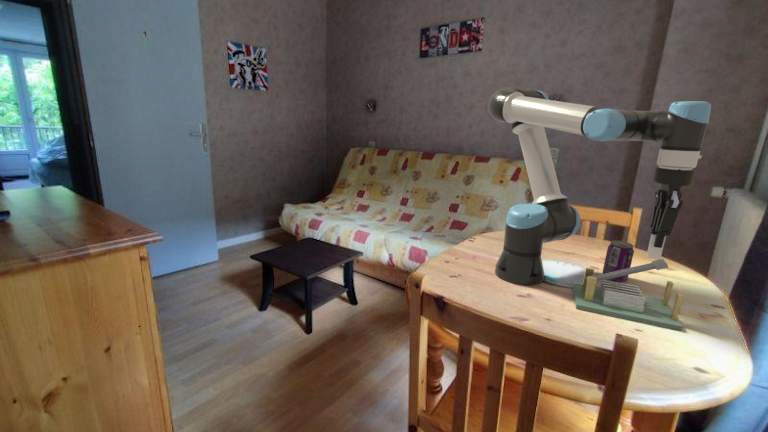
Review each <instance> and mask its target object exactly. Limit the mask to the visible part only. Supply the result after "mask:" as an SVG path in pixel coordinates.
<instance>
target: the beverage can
mask: <svg viewBox="0 0 768 432" xmlns="http://www.w3.org/2000/svg"><path fill="white" fill-rule="evenodd" d="M634 253H635V251H634V245H633V244H632V243H630V242H628V241H621V240H611V241H610V244H609V245H608V246H607V249H606V254H605V259H604V263H603V269H602V273H601V274H605V273H609V272H613V271H618V270H622V269H627V268H631V267H632V262H633V257H634ZM628 279H629V275H625V276H620V277H616V278H611V279H610V281H614V282H615V281H616V282H622V281H627V280H628Z"/></svg>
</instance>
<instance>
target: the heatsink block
mask: <svg viewBox="0 0 768 432" xmlns="http://www.w3.org/2000/svg"><path fill="white" fill-rule="evenodd" d="M598 287H599V294H600V297H601V301H602V304H603V305H605V306H609V307H614V308H619V309H624V310H629V311H634V312H639V313H643V310H644V302H645V298H644V296H645V295H644V294H643V291H641V289H640V286H638V285H634V284H627V283H622V282H618V281H616V282H615V281H613V280H602V281H600V284H599V286H598Z"/></svg>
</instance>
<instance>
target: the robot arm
mask: <svg viewBox="0 0 768 432" xmlns="http://www.w3.org/2000/svg"><path fill="white" fill-rule="evenodd" d="M487 108H488V109H487V110H488V113H489V115H490V116H491V118H492V119H493V120H494V121H496V122H499V123H505V124H510V126H511V131H512V133H513V134H515V135H518V139H519V140H518V141H519V143H520V144H519V145H520V147H521V148H520V149H521V152H522V155H523V160H524V164H525V168H526V173H527V176H528V181H529V185H530V189H531V193H532V197H533V200H532V202H531V203H519V204H515V205H513V206H511V207H510V208H509V210H508V211H507V217H506V219H505V229H504V230H505V231H504V238H503V239H504V240H503V248H502V252H501V253H500V255H499V257H498V259H497V261H496V264H495V268H494V273H495V274H496V276H498V277H499V278H500V279H502V280H505V281H506V282H509V283H512V284H517V285H521V286H522V285H524V286H528V285H529V286H534V285H539V284H541V283H543V281H544V278H545V270H544V266H543V265H544V264H543V260H542V253H543V251H542V250H543V247H544V246H543V245H544V244H547V243H551V242H555V241H564V240H566V239H568V238H571V237H573V236H574V235H575V234H576V233H577V232H578V231H579V229H580V227H581V215H580V213H579V211H578V210H577V208H575V207H574V206H573V205H571V204H570V203H569V199H568V197H567V196H566V195H564V194H563V193H561V189H560V185H559V180H558V177H557V176H558V175H557V173H556V169H555V166H554V161H553V157H552V153H551V150H550V149H551V148H550V146H549V141H548V138H547V134H546V129H552V130H556V131H561V132H565V133H571V134H575V135H578V136H584V137H587V138H588V139H590V140H592V141H597V142H602V143H605V142H616V141H619V142H622V141H623V142H626V141H627V142H631V141H633V142H656V143H658V142H661V144H660V145H661V146H660V148H659V152H658V155H657V156H658V157H657V160H656V166H657V167H656V168H655V170H654V174H653V180H652V181H653V182H654V183H656V184H660V187H659V189H658V190H657V191H655V192H654V203H653V208H652V214H651V215H652V216H651V221H650V225H649V227H650V228H651V231H650V239H649V243H648V248H647V252H646V257H647V258H649V259H655V260H659V259H662V253H663V252H664V251H663V249H664V245H665V242H666V238H667V237H668V236H671V234H672V232H673V228H674V226H675V224H676V223H675V222H676V220H677V217H678V216H679V215H678V214H679V212H680V209H681V208H682V206H683V204H684V201H683V200H681V199H682V195H683V193H682V192H681V191H682V187H688V186H691V185H692V184H693V181H694V179H695V178H694V177H695V174H696V171H695V170H694V169H695V168H696V167H697V165H698V162H699V160H701V159H702V157H703V156H702V155H701V154H700V153H701V150H702V147H703V146H702V145H703V143H704V139H705V136H706V132H707V129H708V125H710V124H709V123H710V116H711V110H712V104H711V103H710V102H708V101H702V100H701V101H700V100H696V101H694V100H692V101H691V100H689V101H688V100H686V101H685V100H684V101H683V100H682V101H674V102H671V104H670V106H669V107H668V110H631V109H630V110H629V109H616V108H608V107H601V106H600V107H599V106H594V105H593V106H592V105H588V104H587V105H586V104H580V103H575V102H574V103H573V102H565V101H557V100H552V99H549V96H548V95H547V94H546V93H545V92H544V91H542V90H538V89H535V88H521V87H520V88H519V87H510V86H509V87H508V86H507V87H502V88H500V89H498V90H496V91H495V92H494V93H493V94H492V95H491V97H490V98H489V101H488V107H487ZM545 128H546V129H545Z"/></svg>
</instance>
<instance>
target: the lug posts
mask: <svg viewBox="0 0 768 432" xmlns="http://www.w3.org/2000/svg"><path fill="white" fill-rule="evenodd" d="M594 272H595V269H594V268H590V267H585V270H584V275H583V280H582V284H583V285H582V291H585V294H584V300H586V301H591V302H592V299H593V295H594V290H595V287H596V284H597V282H596V280H597V278H596V277H592V276H594ZM587 275H591V276H588V279H587V280H586V276H587ZM673 288H674V282H673V281H671V280H667V282H666V286H665V289H664V293H663V297H662V299H663V300H662V304H663V305H665V306H667V305H668V306H669V301H670V297H671V294H672V291H673ZM683 300H684V294H682V293H676V296H675V300H674V303H673V307H672V309H671V310H672V314H671V319H672V320H678V317H679V315H680V310H681V308H682V307H681V306H682V304H683Z"/></svg>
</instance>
